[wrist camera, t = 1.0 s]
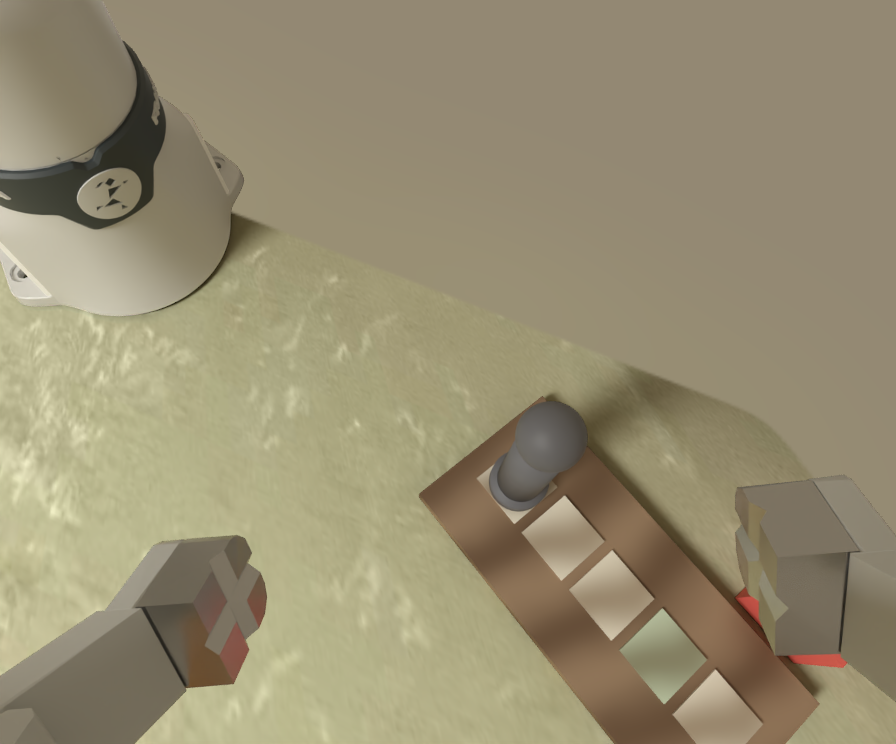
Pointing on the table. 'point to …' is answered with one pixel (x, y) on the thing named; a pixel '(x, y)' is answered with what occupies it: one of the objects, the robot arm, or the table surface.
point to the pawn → (538, 455)
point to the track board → (619, 607)
